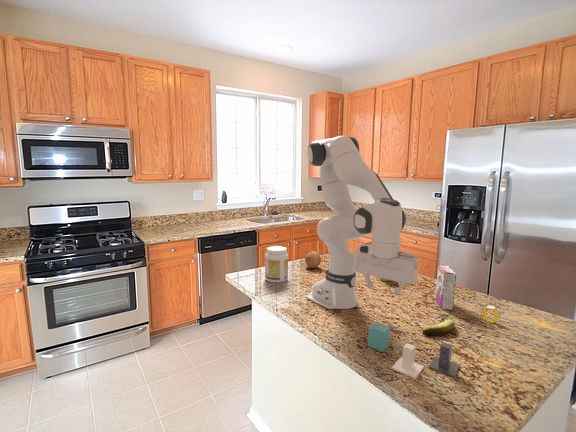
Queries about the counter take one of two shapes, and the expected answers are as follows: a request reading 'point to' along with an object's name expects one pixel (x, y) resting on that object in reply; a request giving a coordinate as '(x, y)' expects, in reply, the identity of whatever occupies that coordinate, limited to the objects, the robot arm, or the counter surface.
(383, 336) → the teal rectangular block
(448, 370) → the post
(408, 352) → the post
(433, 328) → the banana
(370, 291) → the counter surface
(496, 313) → the watch
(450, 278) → the candy bar box
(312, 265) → the brown round ball
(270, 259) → the supplement tub
